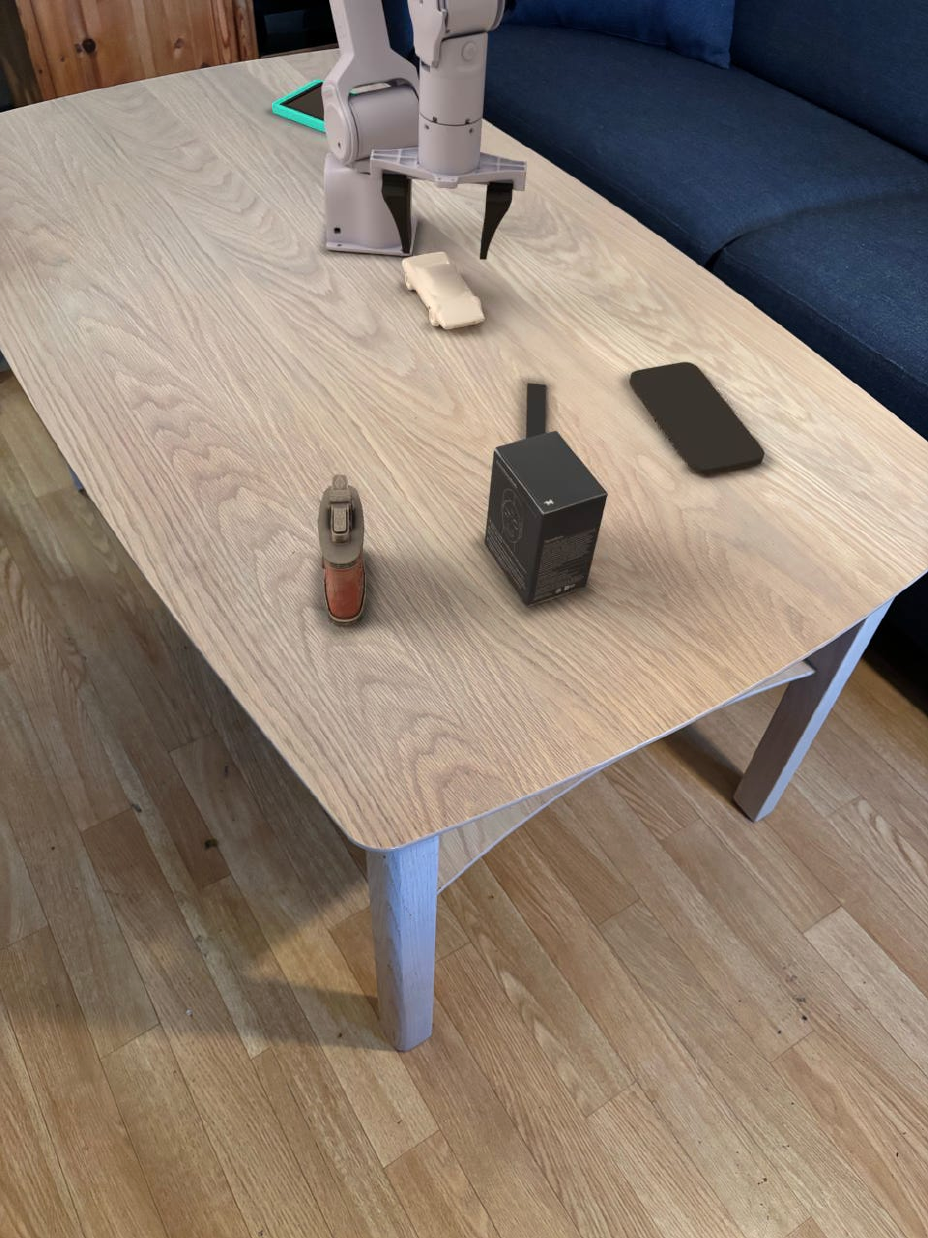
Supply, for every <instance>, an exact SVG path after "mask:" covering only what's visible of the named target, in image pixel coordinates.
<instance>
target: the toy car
mask: <svg viewBox="0 0 928 1238" xmlns="http://www.w3.org/2000/svg"><path fill="white" fill-rule="evenodd" d="M401 266H402V269H403V270H404V272H405V274H404V282H405V286H406V288H407V290H409V291H416V293H417V294H418V296H419V298H420V299H421V301H422V302H423V304H424V305H425V307H426V308H427V309H428V319H429V321H430V322H429V323H430V325H431V326H433V327H439V326H441V327H442V328H443V329H444V330H453V329H457V328H463V327H467V326H471V325H476V324H480V323H483V322H484V321H485V314H484V312H483V309H482V303H481V299H480V298H479V297H478V296H476V295H474V293H473V292H472V291H471V289H470V287H469V286H468V284H467V283H466V281H465V280H464V279H463V277H462V275H461V273H460V272H459V271H458V268H457V265H456V263H454V262H453V261H452V260H451V258H449V256H448V254H447V253H446V252H445V251H436V252H429V253H424V254H418V255H413V256H408V257H405V258H403V259H402V261H401Z"/></svg>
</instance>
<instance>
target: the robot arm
mask: <svg viewBox="0 0 928 1238" xmlns="http://www.w3.org/2000/svg"><path fill="white" fill-rule="evenodd" d="M328 2H329V5H330V10H331V15H332V20H333V24H334V29H335V33H336V38H337V42H338V43H337V44H338V48H339V52H340V57H339V59H338V61H337V62H336V63H335V64H334V66H333V68H332V69H331V70H330V72H329V73H328V75H327V76H326V77H325V79H324V80H323V81H324V83H323V85H322V87H321V89H322V99H323V105H324V125H325V132H326V133H325V132H324V133H325V137H326V139H327V143H328V146H329V148H330V150H331V151H329V152H327V153H326V156H325V161H324V167H323V199H324V216H325V219H324V220H325V229H326V230H325V234H326V243H325V248H326V249H327V250H328V251H338V252H352V253H362V254H373V255H374V254H376V255H387V256H398V257H399V256H402V257H411V256H412V255H413V251H414V246H415V245H414V244H415V239H416V238H415V237H416V232H417V226H418V216H416V215H412V211H413V208H412V204H413V201H412V200H413V180H419V181H428V182H432V183H434V186H435V187H436V188H439V189H449V190H454V189H458V186H459V185H465V184H472V185H483V186H486V192H485V193H486V194H485V207H484V217H483V223H482V224H483V226H482V230H481V236H480V246H479V247H480V249H479V260H480V261H481V260H482V261H486V260H488V254H489V250H490V246H491V244H492V240H493V239H494V235H495V234H496V231H497V229H498V227H499V225H500V223H501V222H502V220H503V218H504V217H505V215H506V214H507V213H508V211H509V209H510V207H511V205H512V202H513V193H514V191H515V192H516V191H517V192H525V190H526V181H527V180H526V179H527V167H528V165H527V164H528V163H527V161H524V160H516V159H511V158H506V157H503V156H499V155H495V154H491V153H487V152H483V151H481V143H482V132H483V131H482V129H483V117H484V116H483V115H484V100H485V88H486V87H485V86H486V85H485V84H486V71H487V57H488V56H487V55H488V40H489V34H488V32H489V31H494V30H495V29H496V28H498V26H499V25H500V23H501V21H502V19H503V16H504V11H505V5H506V4H505V3H506V0H407V7H408V14H409V17H410V20H411V24H412V25H411V26H412V32H413V47H414V50H415V51H414V52H415V55H416V56H417V57H418V58H419V73H418V71H417V67H416V66H415V65H414V64H413V63H411V62H410V61H409V60H407V59H406V58H404V57H403V56H402V55H400V54H399V53H398V52H396V51H394V50H393V49H392V48H391V45H390V44H391V43H390V40H389V34H388V29H387V24H386V19H385V12H384V9H383V3H382V0H329V1H328ZM378 84H385V85H387V86H385V87H382V88H377V89H371V90H366V91H361V92H356V93H355V94H350V95H349V93H350V92H351V91H353V89H358V88H363V87H369V86H373V85H378Z"/></svg>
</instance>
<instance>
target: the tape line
mask: <svg viewBox="0 0 928 1238" xmlns="http://www.w3.org/2000/svg"><path fill="white" fill-rule="evenodd" d="M546 416H547V385H546V384H545V383H544V384H543V383H531V382H527V384H526V417H525V418H526V419H525V420H526V422H525V423H526V424H525V425H526V426H525V427H526V429H525V439H527V438H530V437H534V436H538V435H541V434H545V433H547V432H546V431H547V417H546Z"/></svg>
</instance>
